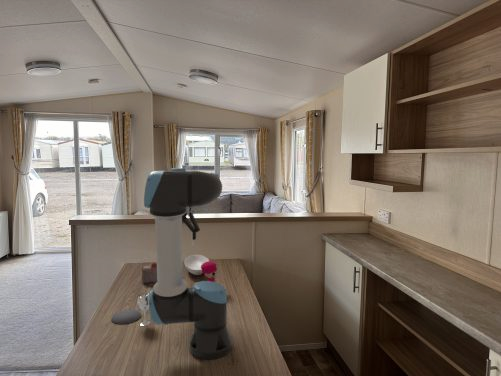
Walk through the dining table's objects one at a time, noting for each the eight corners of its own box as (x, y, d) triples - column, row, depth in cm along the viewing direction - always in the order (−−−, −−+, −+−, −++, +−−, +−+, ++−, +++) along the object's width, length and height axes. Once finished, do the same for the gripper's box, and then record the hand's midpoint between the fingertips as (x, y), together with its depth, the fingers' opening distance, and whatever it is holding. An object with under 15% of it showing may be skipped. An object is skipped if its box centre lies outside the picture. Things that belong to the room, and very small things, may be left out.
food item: (166, 277, 193) (166, 260, 192) (168, 281, 185) (168, 264, 184) (141, 279, 188) (141, 262, 187) (142, 284, 180) (142, 267, 180)
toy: (214, 293, 169) (214, 264, 168) (198, 292, 171) (198, 263, 169) (219, 287, 177) (219, 259, 176) (204, 286, 179) (204, 258, 178)
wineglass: (147, 318, 142) (146, 291, 141) (155, 322, 139) (154, 294, 138) (134, 323, 138) (134, 295, 137) (142, 328, 134) (142, 299, 133)
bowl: (183, 264, 215) (183, 255, 215) (206, 263, 219) (206, 254, 218) (185, 281, 186) (185, 270, 186) (212, 279, 190) (212, 268, 189)
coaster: (133, 324, 137) (133, 323, 137) (105, 323, 138) (105, 321, 138) (145, 311, 149) (145, 310, 149) (120, 310, 150) (120, 308, 150)
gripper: (206, 200, 158) (206, 244, 160) (156, 199, 162) (157, 242, 164) (201, 202, 151) (201, 248, 153) (149, 201, 155) (150, 246, 156)
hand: (178, 245), depth 158 cm, fingers open, 13 cm apart
